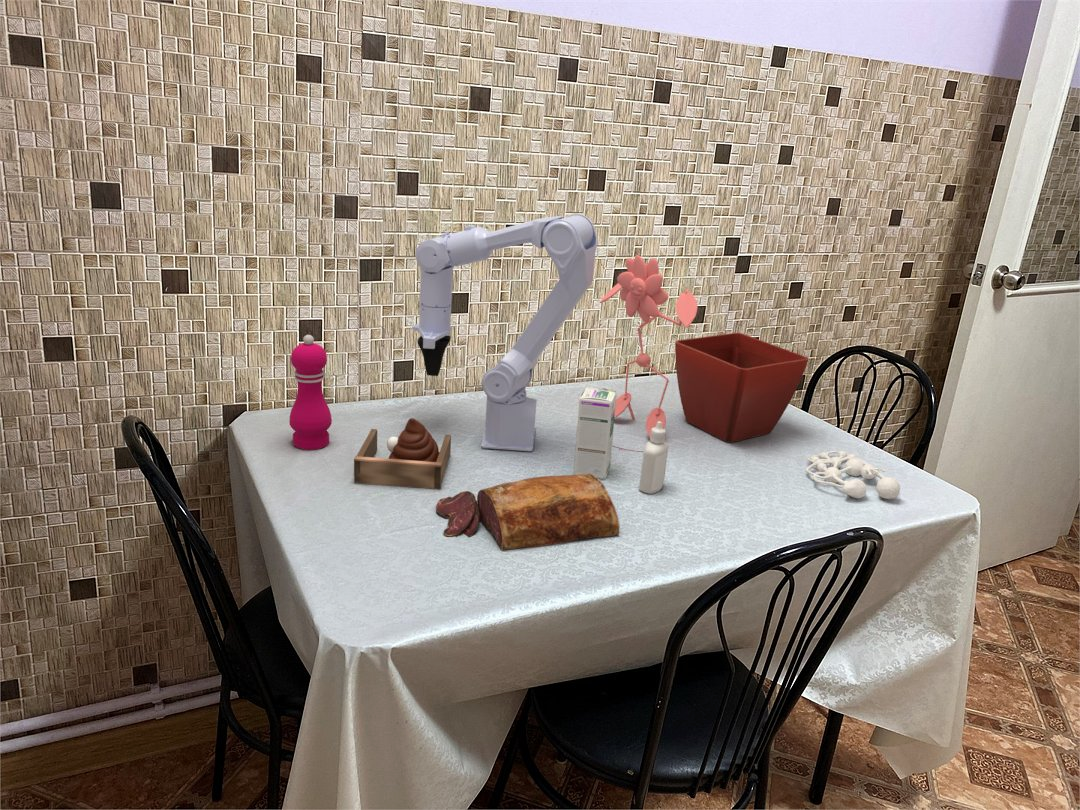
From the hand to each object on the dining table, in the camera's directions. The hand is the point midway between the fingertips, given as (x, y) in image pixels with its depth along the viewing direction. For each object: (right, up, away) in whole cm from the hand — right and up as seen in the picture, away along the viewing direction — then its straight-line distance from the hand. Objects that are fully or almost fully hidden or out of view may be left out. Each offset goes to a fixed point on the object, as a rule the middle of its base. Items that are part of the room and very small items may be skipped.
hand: (432, 374), depth 158 cm
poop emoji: (-1, -17, -14) cm, 22 cm away
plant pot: (+59, -11, +14) cm, 61 cm away
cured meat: (+17, -24, -29) cm, 41 cm away
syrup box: (+29, -17, -10) cm, 35 cm away
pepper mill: (-21, -13, -8) cm, 25 cm away
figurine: (+36, -11, +8) cm, 39 cm away
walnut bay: (-3, -16, -14) cm, 22 cm away
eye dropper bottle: (+39, -20, -15) cm, 46 cm away
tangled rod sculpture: (+75, -20, -6) cm, 77 cm away
